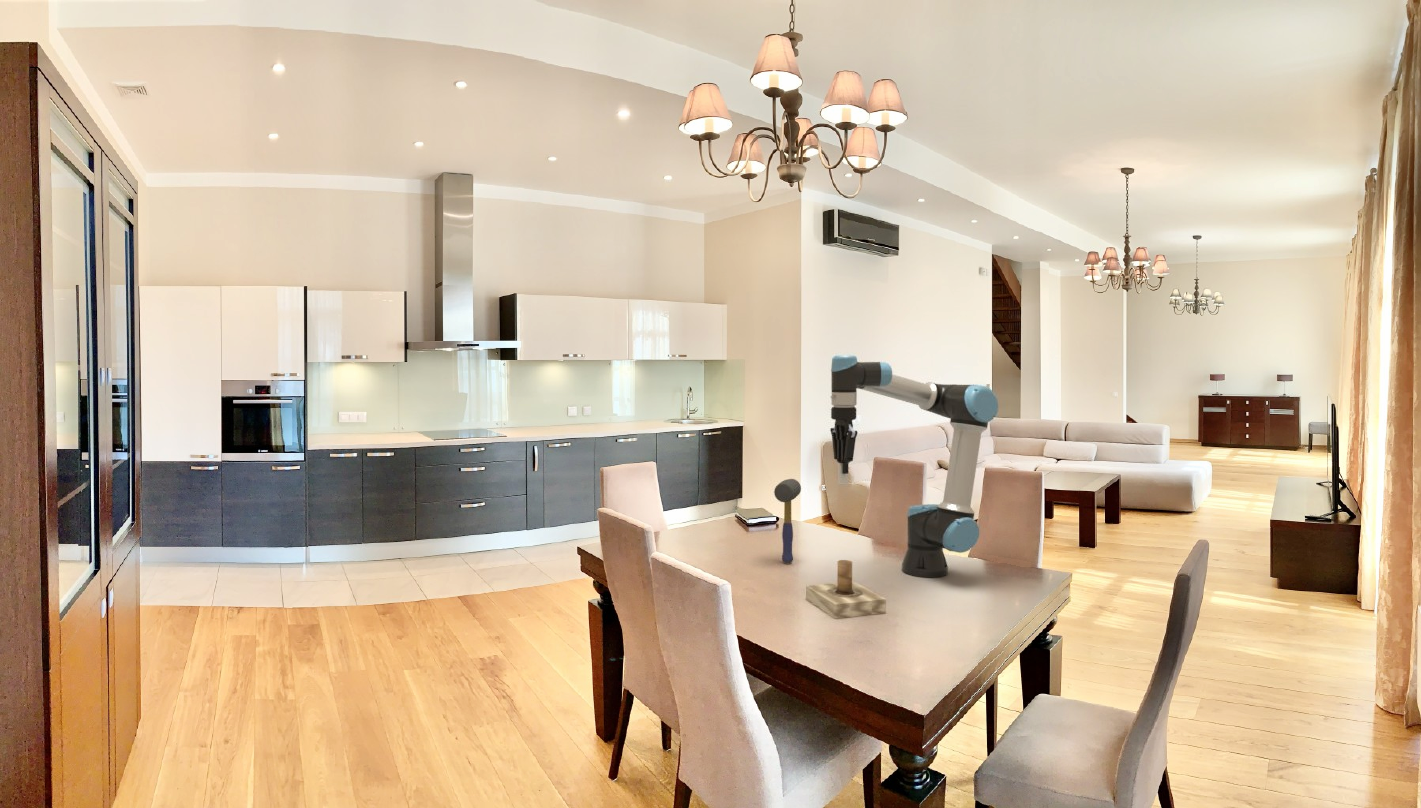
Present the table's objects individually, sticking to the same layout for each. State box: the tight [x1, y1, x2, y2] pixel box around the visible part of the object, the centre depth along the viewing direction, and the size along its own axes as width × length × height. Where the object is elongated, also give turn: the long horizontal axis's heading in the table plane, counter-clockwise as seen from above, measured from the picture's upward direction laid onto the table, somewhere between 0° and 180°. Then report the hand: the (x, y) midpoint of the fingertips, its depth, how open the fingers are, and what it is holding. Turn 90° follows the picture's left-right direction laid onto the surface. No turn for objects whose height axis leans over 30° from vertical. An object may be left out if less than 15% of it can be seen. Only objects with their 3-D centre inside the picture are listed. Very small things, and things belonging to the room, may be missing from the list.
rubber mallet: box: [773, 478, 802, 565], centre depth 271 cm, size 12×8×30 cm, turn 159°
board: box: [805, 580, 887, 619], centre depth 223 cm, size 16×19×4 cm
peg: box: [836, 559, 853, 595], centre depth 222 cm, size 4×4×13 cm
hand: (843, 483), depth 231 cm, fingers closed
